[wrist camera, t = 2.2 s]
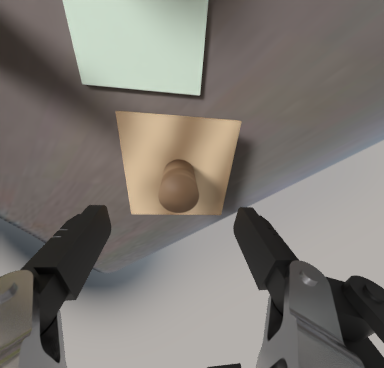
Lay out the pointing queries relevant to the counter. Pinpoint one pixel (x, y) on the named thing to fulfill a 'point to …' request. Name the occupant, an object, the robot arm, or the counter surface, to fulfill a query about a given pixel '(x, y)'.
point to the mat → (139, 43)
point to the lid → (176, 162)
